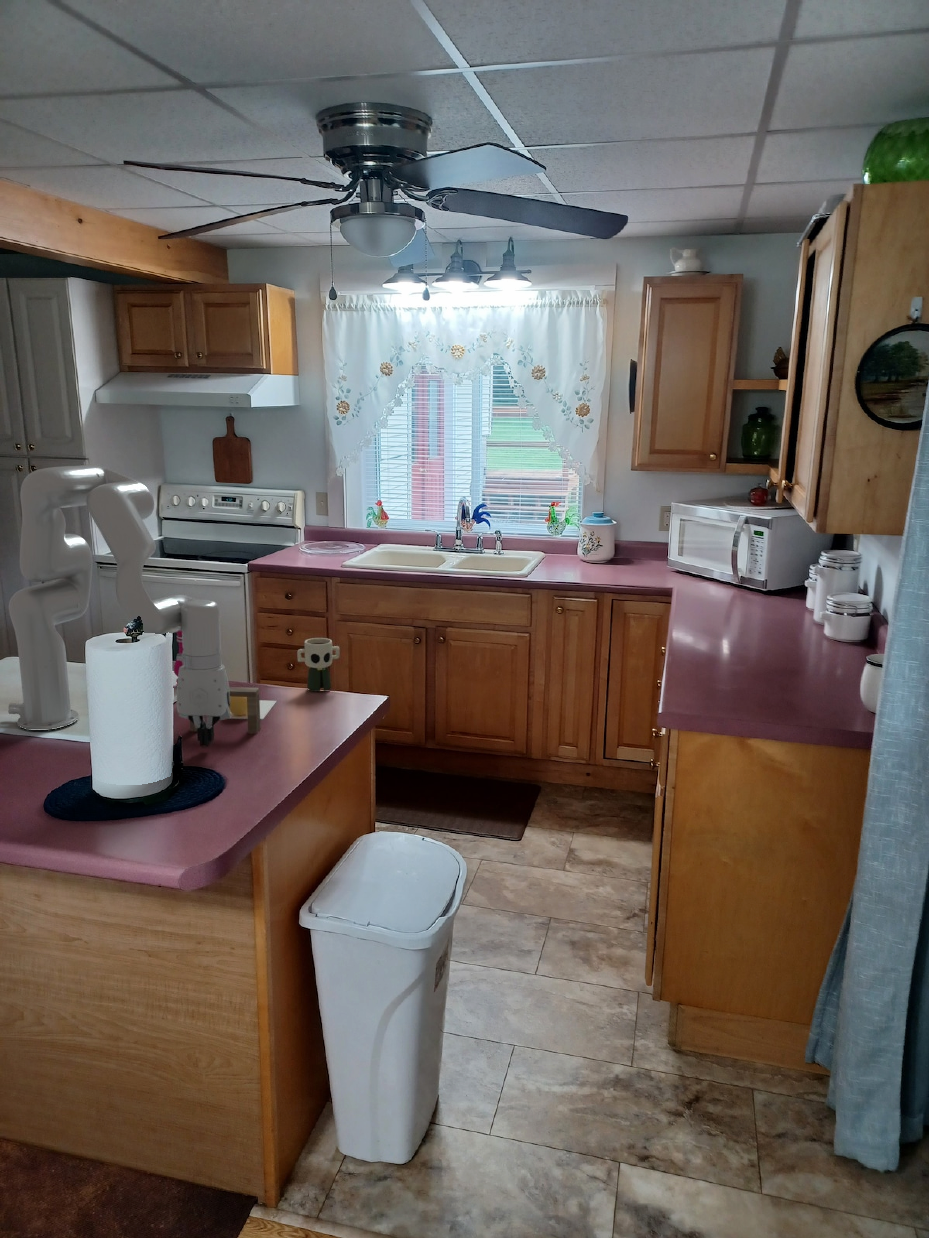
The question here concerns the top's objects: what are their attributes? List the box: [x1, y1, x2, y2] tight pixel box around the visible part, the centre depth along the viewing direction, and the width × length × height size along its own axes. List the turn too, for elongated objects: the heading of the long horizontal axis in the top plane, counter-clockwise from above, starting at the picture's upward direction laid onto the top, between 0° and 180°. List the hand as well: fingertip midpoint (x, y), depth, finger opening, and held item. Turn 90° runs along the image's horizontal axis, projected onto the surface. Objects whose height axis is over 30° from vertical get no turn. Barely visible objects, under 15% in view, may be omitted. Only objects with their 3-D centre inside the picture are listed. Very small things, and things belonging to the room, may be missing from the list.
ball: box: [229, 696, 247, 716], centre depth 208 cm, size 6×6×6 cm
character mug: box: [296, 637, 340, 692], centre depth 227 cm, size 11×7×13 cm, turn 112°
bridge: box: [189, 686, 261, 734], centre depth 198 cm, size 3×15×10 cm, turn 88°
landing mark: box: [229, 699, 278, 721], centre depth 212 cm, size 13×13×1 cm
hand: (206, 743), depth 186 cm, fingers closed
